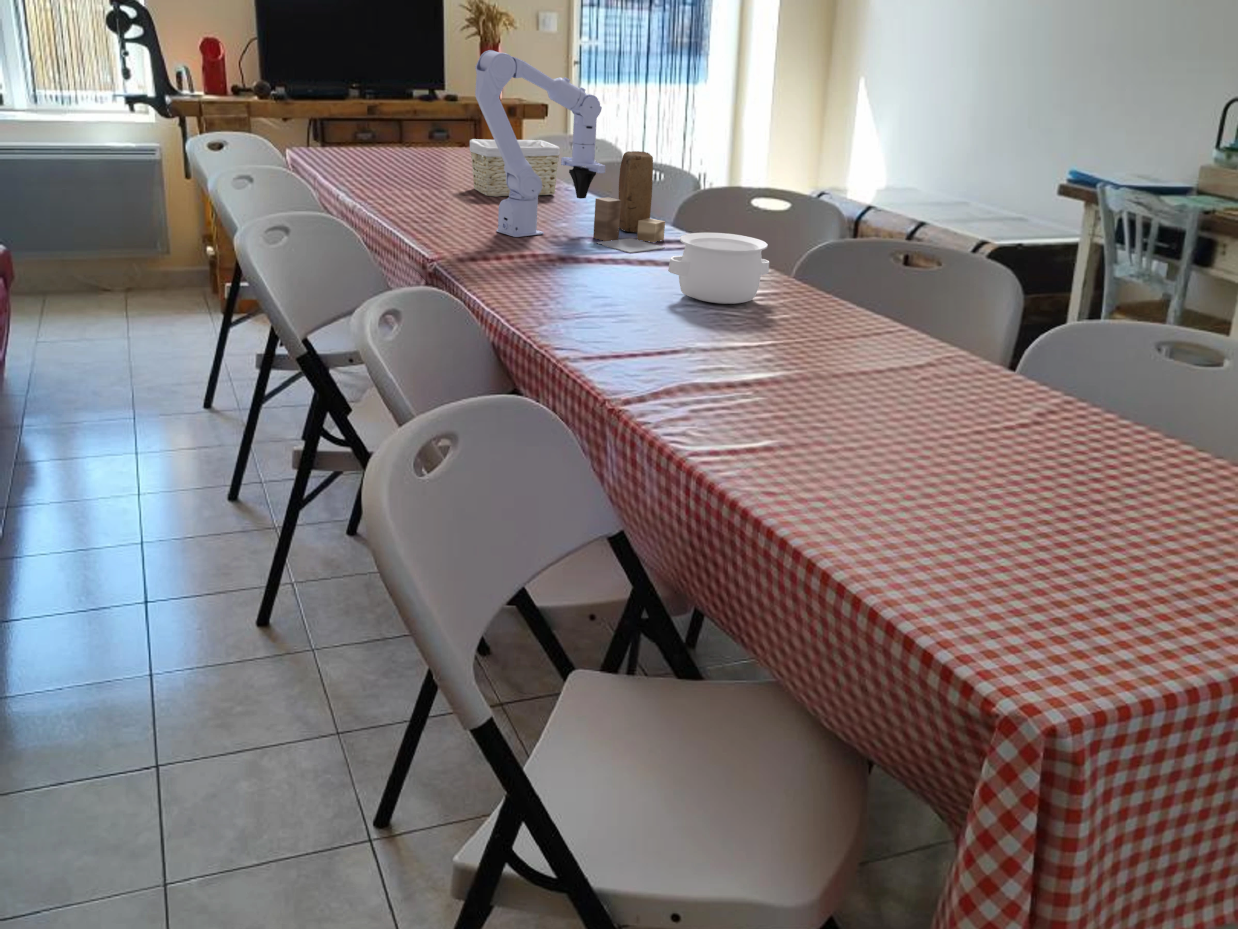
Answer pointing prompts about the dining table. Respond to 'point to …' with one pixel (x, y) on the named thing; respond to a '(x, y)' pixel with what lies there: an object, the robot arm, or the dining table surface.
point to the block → (635, 189)
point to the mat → (630, 245)
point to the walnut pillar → (607, 219)
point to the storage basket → (491, 164)
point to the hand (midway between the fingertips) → (581, 197)
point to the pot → (720, 267)
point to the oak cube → (651, 230)
